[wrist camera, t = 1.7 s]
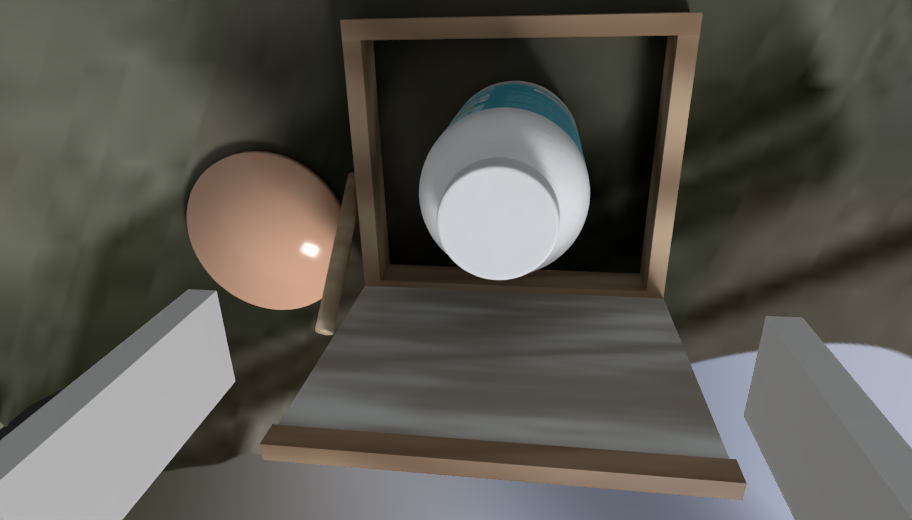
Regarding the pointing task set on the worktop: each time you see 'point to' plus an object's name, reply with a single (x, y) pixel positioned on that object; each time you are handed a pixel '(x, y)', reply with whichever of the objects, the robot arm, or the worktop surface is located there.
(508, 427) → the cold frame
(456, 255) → the pill bottle
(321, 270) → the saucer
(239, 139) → the worktop surface
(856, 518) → the robot arm
